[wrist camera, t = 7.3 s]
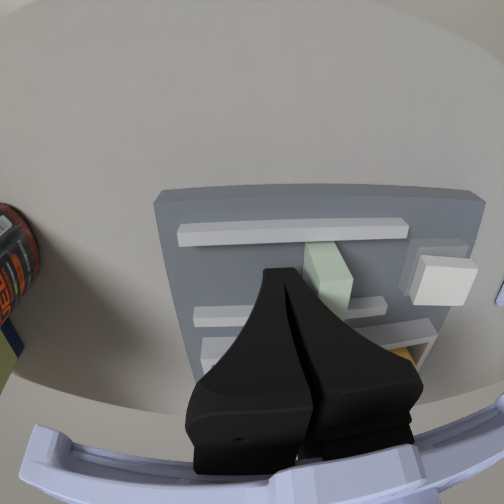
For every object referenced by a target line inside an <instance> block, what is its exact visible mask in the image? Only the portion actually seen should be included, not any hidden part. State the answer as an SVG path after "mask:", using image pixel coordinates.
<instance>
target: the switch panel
mask: <svg viewBox="0 0 504 504" xmlns="http://www.w3.org/2000/svg"><path fill="white" fill-rule="evenodd" d="M153 204H154V210H155V216H156V221H157V227H158V232H159V237H160V242H161V247H162V252H163V257H164V262H165V267H166V271H167V276H168V280H169V284H170V289H171V293H172V297H173V301H174V305H175V309H176V313H177V317H178V321H179V325H180V329H181V333H182V336H183V340H184V344H185V347H186V351H187V354H188V358H189V361H190V365H191V368H192V371H193V375H194V378H195V381H196V383H197V382H198V381H199V380H200V379H201V378H202V377H203V376H204V375H205V374H206V373H207V372H208V371H209V370H210V369H211V368H212V367H213V366H214V365H215V364H216V363H217V362H218V361H219V360H220V358H221V357H222V356H223V355H224V354H225V353H226V351H227V350H228V349H229V348H230V346H231V345H232V344H233V342H234V341H235V339H236V338H237V336H238V335H239V333H240V332H241V330H242V328H243V327H244V325H245V323H246V321H247V320H248V318H249V316H250V313H251V311H252V309H253V307H254V305H255V302H256V300H257V297H258V294H259V291H260V287H261V284H262V278H263V270H264V269H265V268H286V267H294V268H295V269H296V270H297V271H298V273H299V274H300V275H301V277H302V278H303V265H304V252H305V242H310V241H334V243H335V245H336V246H337V248H338V250H339V252H340V254H341V256H342V258H343V260H344V262H345V264H346V266H347V267H348V269H349V271H350V273H351V275H352V277H353V284H352V289H351V294H350V299H349V303H348V308H347V312H346V316H345V321H344V322H345V323H346V324H347V325H348V326H350V327H351V328H352V329H354V330H355V331H357V332H358V333H359V334H361V335H362V336H364V337H365V338H367V339H369V340H370V341H372V342H373V343H375V344H377V345H379V346H381V347H382V348H384V349H386V350H390V349H396V348H401V347H407V349H408V351H409V353H410V355H411V357H412V359H413V361H414V363H415V366H416V370H417V372H418V371H419V370H420V368H421V366H422V364H423V363H424V361H425V359H426V357H427V355H428V354H429V352H430V350H431V348H432V346H433V344H434V342H435V340H436V339H437V337H438V332H439V330H440V328H441V326H442V324H443V322H444V320H445V317H446V315H447V313H448V311H449V309H450V306H434V305H413V304H412V301H411V298H410V295H409V291H410V288H411V285H412V282H413V279H414V275H415V272H416V269H417V265H418V262H419V258H420V255H430V256H442V257H455V258H467V259H469V258H470V255H471V252H472V249H473V246H474V243H475V240H476V237H477V233H478V230H479V226H480V223H481V219H482V215H483V212H484V208H485V204H486V201H484V200H483V199H481V198H480V197H478V196H477V195H475V194H474V193H472V192H471V191H464V190H453V189H441V188H428V187H412V186H392V185H365V184H268V185H240V186H219V187H203V188H188V189H175V190H163V191H162V192H161V193H160V194H159V196H158V197H157V199H156V200H155V201H154V203H153Z"/></svg>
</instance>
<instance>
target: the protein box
mask: <svg viewBox="0 0 504 504" xmlns="http://www.w3.org/2000/svg"><path fill="white" fill-rule="evenodd" d="M24 348H25V347H24V345H23V344H22V342H21V340H20V338H19V337H18V335H17V333H16V331H15V329H14V327H13V325H12V323H11V321H10V319H9V317H7V319H6V320H5V321H4V323H3V324H2V326H1V327H0V395H1V392H2V390H3V388H4V386H5V384H6V382H7V380H8V378H9V376H10V374H11V372H12V370H13V368H14V366H15V364H16V362H17V360H18V359H19V357H20V355H21V353H22V351H23V349H24Z"/></svg>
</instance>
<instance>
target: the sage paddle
mask: <svg viewBox="0 0 504 504" xmlns="http://www.w3.org/2000/svg"><path fill="white" fill-rule="evenodd" d="M303 279H304V281H305V282H306V283H307V284H308V286H309V287H310V288H311V289H312V291H313V292H314V293H315V294H316V295H317V296H318V297H319V299H320V300H321V301H322V302H323V303H324V304H325V305H326V306H327V307H328V308H329V309H330V310H331V311H332V312H333V313H334V314H335V315H336V316H337V317H339V318H340V319H341V320H342V321H343V322H344V321H345V316H346V312H347V308H348V303H349V299H350V294H351V289H352V284H353V277H352V275H351V273H350V271H349V269H348V267H347V266H346V264H345V262H344V260H343V258H342V256H341V254H340V252H339V250H338V248H337V246H336V245H335V243H334V241H310V242H305V252H304V265H303Z"/></svg>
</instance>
